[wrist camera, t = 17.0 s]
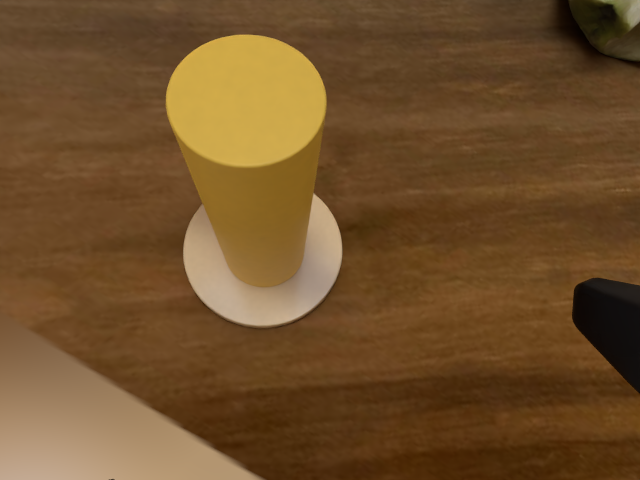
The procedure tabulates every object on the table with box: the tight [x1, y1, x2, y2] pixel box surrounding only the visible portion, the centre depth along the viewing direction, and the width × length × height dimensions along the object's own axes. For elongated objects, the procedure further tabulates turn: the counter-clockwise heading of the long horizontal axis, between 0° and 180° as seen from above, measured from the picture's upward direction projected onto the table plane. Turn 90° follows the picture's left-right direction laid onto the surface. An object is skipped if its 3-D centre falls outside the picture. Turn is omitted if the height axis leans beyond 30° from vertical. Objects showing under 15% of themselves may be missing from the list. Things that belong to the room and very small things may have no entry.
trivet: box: [183, 193, 342, 328], centre depth 23 cm, size 8×8×1 cm
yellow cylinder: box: [166, 35, 327, 287], centre depth 17 cm, size 4×4×12 cm
